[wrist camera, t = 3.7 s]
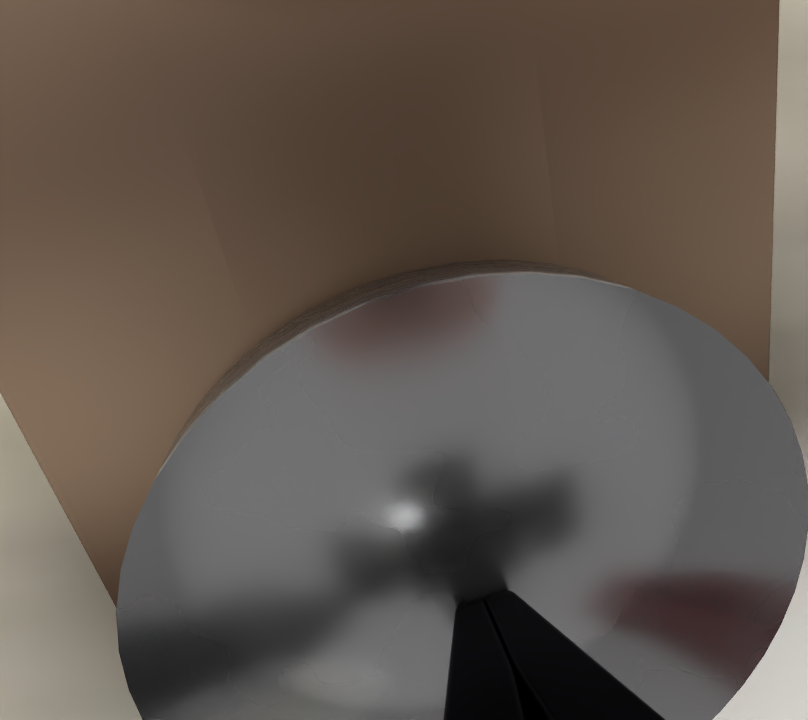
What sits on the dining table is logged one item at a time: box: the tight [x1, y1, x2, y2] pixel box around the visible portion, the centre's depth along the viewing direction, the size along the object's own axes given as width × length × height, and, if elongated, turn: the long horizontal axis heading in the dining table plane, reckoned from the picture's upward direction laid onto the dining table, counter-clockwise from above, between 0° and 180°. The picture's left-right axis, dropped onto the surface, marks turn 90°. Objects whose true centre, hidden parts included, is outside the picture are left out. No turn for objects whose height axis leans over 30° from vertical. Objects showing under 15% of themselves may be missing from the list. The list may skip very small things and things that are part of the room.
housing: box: [0, 0, 779, 608], centre depth 8 cm, size 22×11×3 cm, turn 13°
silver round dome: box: [116, 259, 808, 720], centre depth 10 cm, size 10×10×4 cm
